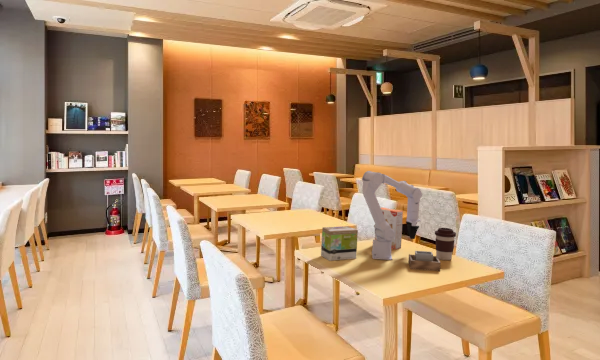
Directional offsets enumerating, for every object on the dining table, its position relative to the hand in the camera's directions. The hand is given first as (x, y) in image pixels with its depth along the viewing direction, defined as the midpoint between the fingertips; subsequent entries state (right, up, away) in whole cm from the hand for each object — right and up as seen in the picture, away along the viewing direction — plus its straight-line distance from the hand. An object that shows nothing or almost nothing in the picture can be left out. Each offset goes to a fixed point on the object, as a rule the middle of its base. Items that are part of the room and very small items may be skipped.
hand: (411, 237), depth 212 cm
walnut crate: (+1, -11, -18) cm, 22 cm away
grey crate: (0, -11, -18) cm, 21 cm away
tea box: (-38, -9, -6) cm, 39 cm away
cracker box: (-9, -8, +17) cm, 21 cm away
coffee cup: (+15, -10, -4) cm, 19 cm away
